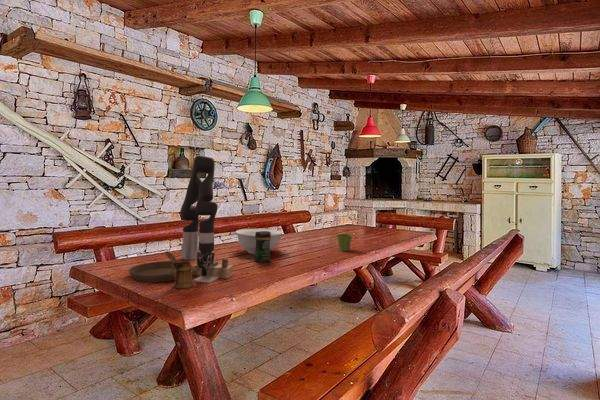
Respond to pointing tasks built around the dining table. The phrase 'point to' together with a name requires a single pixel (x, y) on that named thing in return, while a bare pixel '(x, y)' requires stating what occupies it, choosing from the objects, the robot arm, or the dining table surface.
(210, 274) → the lever cap
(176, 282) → the turkish coffee pot
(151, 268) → the plant saucer
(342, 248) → the plant pot
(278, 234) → the bowl
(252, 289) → the dining table surface
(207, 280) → the stone tile
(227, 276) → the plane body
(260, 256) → the coffee jar
